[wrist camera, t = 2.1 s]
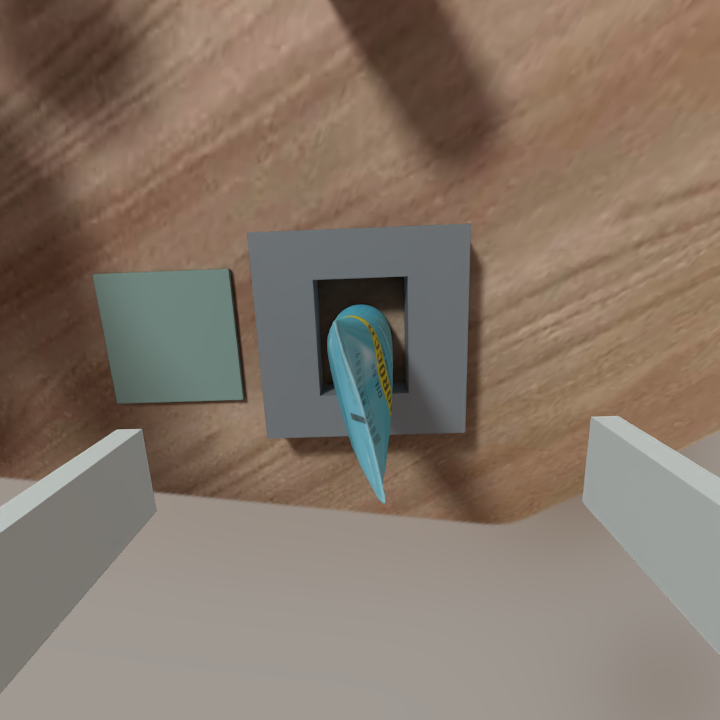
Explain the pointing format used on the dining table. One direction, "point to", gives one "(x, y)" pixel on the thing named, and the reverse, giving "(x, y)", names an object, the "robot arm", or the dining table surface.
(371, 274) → the socket board
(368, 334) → the tube
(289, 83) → the dining table surface
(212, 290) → the coaster
